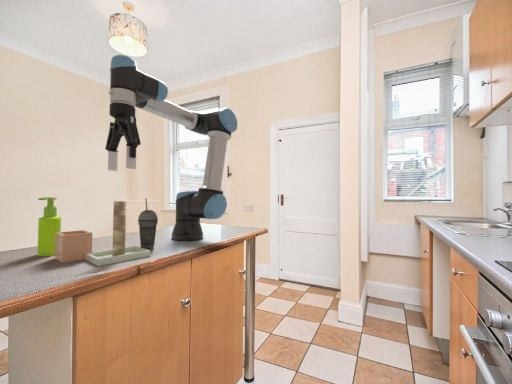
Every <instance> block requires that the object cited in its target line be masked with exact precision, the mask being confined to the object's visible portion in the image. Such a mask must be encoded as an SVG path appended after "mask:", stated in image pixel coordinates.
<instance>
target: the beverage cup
mask: <svg viewBox="0 0 512 384" xmlns="http://www.w3.org/2000/svg"><path fill="white" fill-rule="evenodd" d="M144 200H145V209H144V210H143V211H141V212H140V214H139V215H138V219H137V221H138V226H139V227H138V229H139V241H140V248H144V249H147V250H150V251H153V250H154V247H155V243H156V241H155V240H156V233H157V226H158V220H159V218H158V214H157V212H155V211H154V210H152V209H149V208H148V201H147V200H148V199H147V198H145V199H144Z"/></svg>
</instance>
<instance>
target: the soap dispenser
mask: <svg viewBox="0 0 512 384" xmlns="http://www.w3.org/2000/svg"><path fill="white" fill-rule="evenodd" d="M37 200H38V201H45V200H46V201H47V202H46V206H44V207H43V216H41V217H39V218H38V226H37V228H38V231H37V257H50V256H55V233H56V232H62V231H61V230H62V229H61V228H62V217H61V216H57V207H56V206H55V204H54V203H55V200H57V197H53V196H52V197H51V196H50V197H49V196H47V197H46V196H44V197H39V198H37Z"/></svg>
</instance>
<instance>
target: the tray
mask: <svg viewBox="0 0 512 384" xmlns="http://www.w3.org/2000/svg"><path fill="white" fill-rule="evenodd" d="M112 250H113V248H112V249H111V248H110V249H107V250H106V249H104V250H98V251H92V253H86V254H85V260H86V261H87V262H89V263H90V264H91V263H92V264H93V265H95V266H97V267H98V266H99V267H100V266H105V265H110V264H116V263H120V262H121V263H122V262H126V261H132V260H137V259H143V258H147V257H151V254H152V253H151V252H152V250H147V249H144V248H141V246H136V245H135V246H134V245H133V246H125V254H124V255H118V256H112ZM85 260H84V261H85Z"/></svg>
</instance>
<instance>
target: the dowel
mask: <svg viewBox="0 0 512 384" xmlns="http://www.w3.org/2000/svg"><path fill="white" fill-rule="evenodd" d="M112 213H113V215H112V222H113V223H112V249H113V250H112V256H118V255H124V254H125V247H126V229H127V228H126V226H127V225H126V222H127V221H126V220H127V218H126V217H127V215H126V214H127V201H125V200H115V201H114V200H113V212H112Z"/></svg>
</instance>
